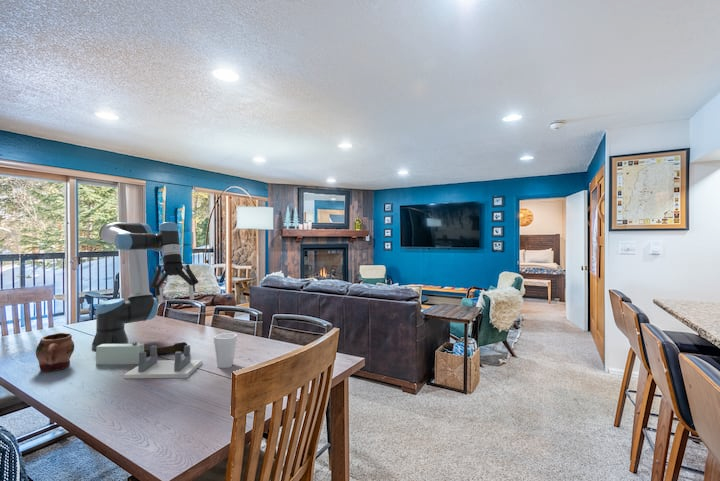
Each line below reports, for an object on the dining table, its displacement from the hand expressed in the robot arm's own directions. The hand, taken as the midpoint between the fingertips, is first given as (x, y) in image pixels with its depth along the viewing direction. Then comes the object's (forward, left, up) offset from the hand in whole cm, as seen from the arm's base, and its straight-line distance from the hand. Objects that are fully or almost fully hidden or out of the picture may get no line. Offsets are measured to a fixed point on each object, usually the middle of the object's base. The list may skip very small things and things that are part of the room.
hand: (177, 301), depth 156 cm
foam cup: (+4, +23, -28) cm, 36 cm away
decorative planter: (+6, -46, -28) cm, 54 cm away
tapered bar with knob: (-1, -24, -28) cm, 37 cm away
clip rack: (+9, 0, -27) cm, 29 cm away
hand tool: (-13, -10, -28) cm, 32 cm away
